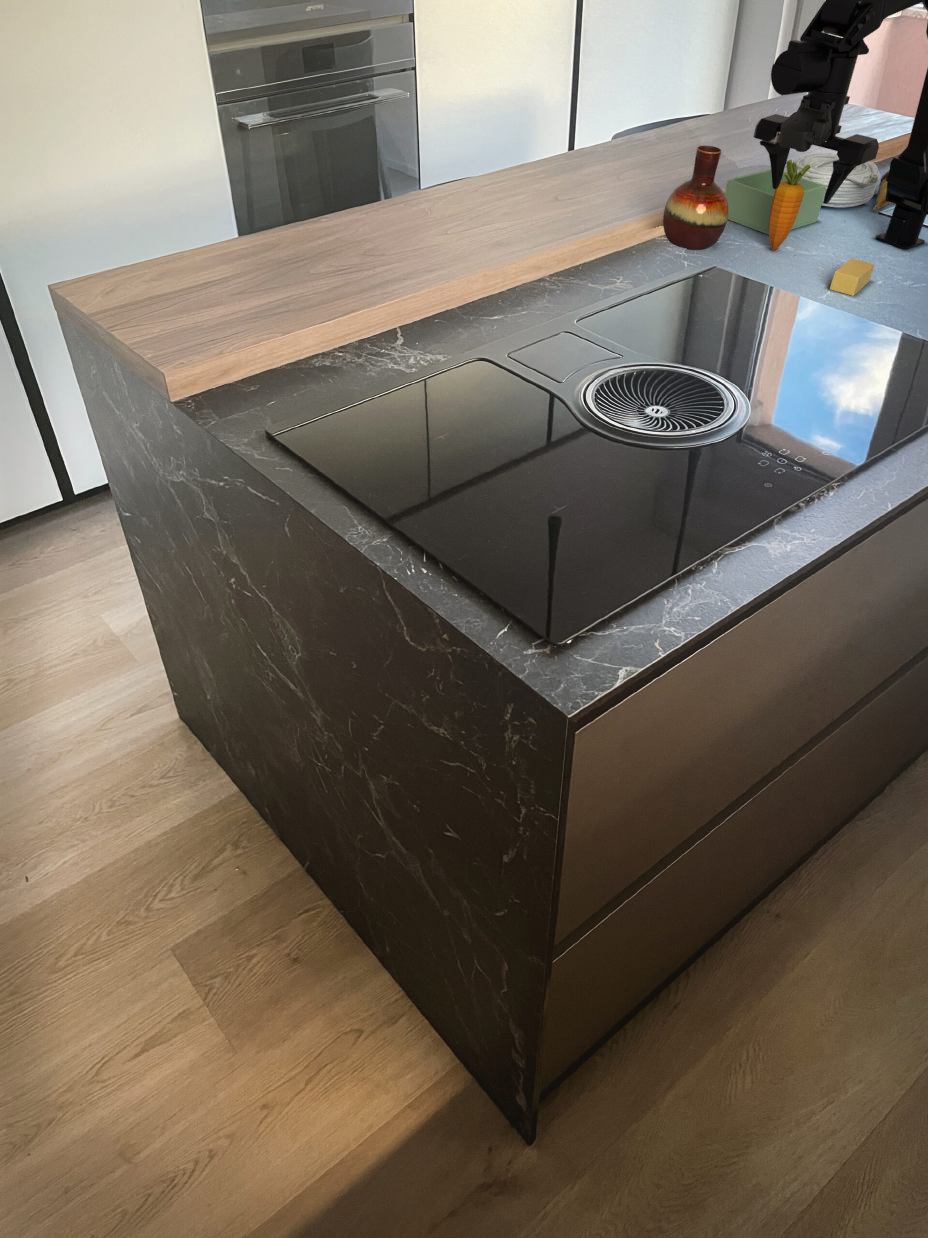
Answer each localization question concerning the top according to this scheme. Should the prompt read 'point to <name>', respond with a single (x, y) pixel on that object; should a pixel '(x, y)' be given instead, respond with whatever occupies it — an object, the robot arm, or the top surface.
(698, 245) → the vase
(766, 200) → the storage bin
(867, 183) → the cable
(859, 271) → the butter block
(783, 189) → the carrot
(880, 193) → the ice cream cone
